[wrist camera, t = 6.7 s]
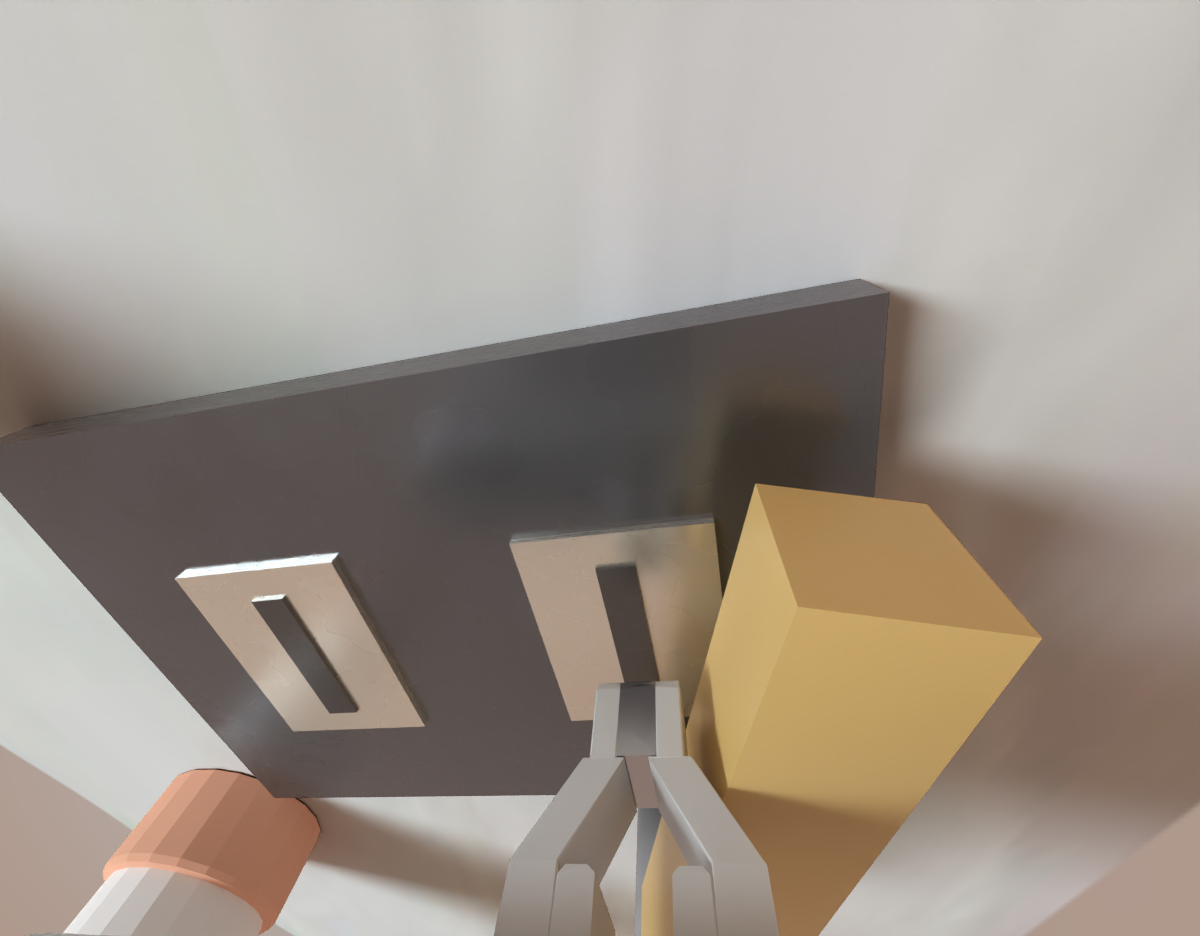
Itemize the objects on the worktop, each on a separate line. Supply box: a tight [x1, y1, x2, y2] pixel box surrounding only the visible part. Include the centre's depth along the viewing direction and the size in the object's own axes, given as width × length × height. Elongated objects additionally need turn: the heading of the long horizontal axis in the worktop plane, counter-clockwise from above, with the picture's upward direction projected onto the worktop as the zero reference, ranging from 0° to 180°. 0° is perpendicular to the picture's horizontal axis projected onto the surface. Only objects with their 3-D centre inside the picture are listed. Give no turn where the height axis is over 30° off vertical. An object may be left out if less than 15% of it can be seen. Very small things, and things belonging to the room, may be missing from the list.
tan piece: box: [635, 483, 1042, 936], centre depth 13 cm, size 18×3×6 cm, turn 175°
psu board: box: [0, 279, 889, 798], centre depth 15 cm, size 16×22×2 cm
